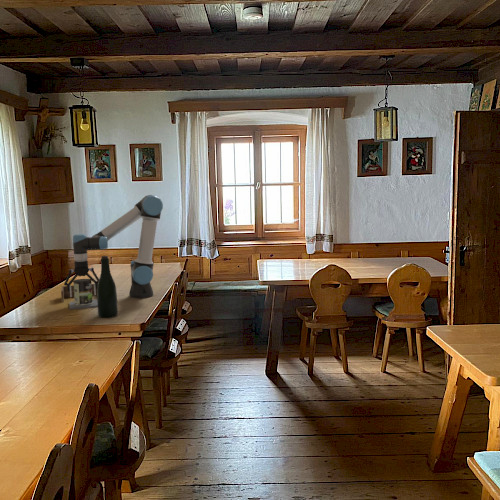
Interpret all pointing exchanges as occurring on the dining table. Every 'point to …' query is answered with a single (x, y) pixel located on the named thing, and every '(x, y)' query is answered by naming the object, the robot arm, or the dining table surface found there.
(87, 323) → the dining table surface
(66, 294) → the walnut u-shaped frame
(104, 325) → the dining table surface
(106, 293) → the green wine bottle
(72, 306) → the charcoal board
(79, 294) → the coffee can
